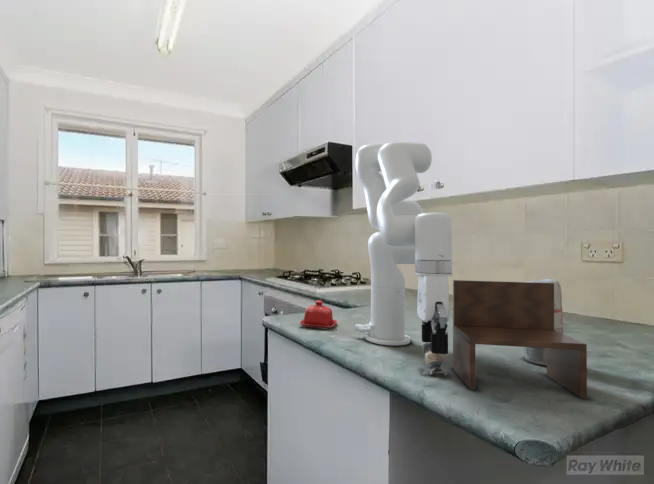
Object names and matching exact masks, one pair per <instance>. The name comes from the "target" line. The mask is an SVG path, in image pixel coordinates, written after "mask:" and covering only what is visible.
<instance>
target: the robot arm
mask: <svg viewBox="0 0 654 484" xmlns="http://www.w3.org/2000/svg"><path fill="white" fill-rule="evenodd" d="M432 156H433V155H432V152H431V149H430V148H429V146H428V145H427V144H425V143H423V142H413V141H412V142H411V141H391V142H387V143H368V144H364V145H362V146H360V147H359V148H358V150H357V151H356V154H355V162H354V163H355V173H356V176H357V179H358V181H359V183H360V185H361V188H362V190H363V193H364V198H365V205H366V212H367V218H368V222H369V225H370V226H371V228H372V229H374V230H375V231H377V230H378V231H377V232H374V233H372V234H371V235H370V236H369V238H368V241H367V251H368V257H369V262H370V263H369V264H370V265H369V266H370V321H369V322H368V323H365V324H359V323H358V324H356V323H355V324H354V331H355V332H359V333H365V334H364V338H365V340H366V341H367V342H369V343H373V344H376V345H381V346H382V345H383V346H393V347H395V346H396V347H397V346H406V345H409V344H410V343H411V341H412V340H411V337H410V336H409V335H407V334H406V278H405V276H404V274H403V273H402V271H401V270H400V268H399V266H398V265H414V275H415V276H418V281H417V300H416V301H417V305H416V315H417V317H418V318H420V320H421V341H422V343H431V352H432V353H435V354H440V355H448V354H449V329H448V322H449V321H450V293H449V279H448V278H449V277H453V261H452V260H453V244H452V243H453V238H452V217H451V215H450V214H448V213H447V212H438V211H437V212H436V211H434V212H432V211H431V212H424V211H423V208H422V206H421V205H420V204H419V203H418V202H417V201H415V200H413V199H408V198H410V197H412V196H413V195H415V194H416V193H417V192H418V190H419V189H420V185H421V183H420V179H419V176H418V174H423V173H426V172H427V171H428V170H429V169H430V168H431V164H432V161H433V160H432V159H433V158H432ZM380 172H381V173H380Z"/></svg>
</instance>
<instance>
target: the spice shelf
mask: <svg viewBox="0 0 654 484" xmlns="http://www.w3.org/2000/svg"><path fill="white" fill-rule="evenodd" d="M452 294H453V295H452V370H454V372H455V373H456V375H457V376H458V377H459V378H460V379H461V381H463V383H464V384H465V385H466V387H468V389H469V390H475V391H476V345H485V346H500V347H501V346H503V347H518V348H519V347H520V348H524V347H534V348H547V365H546V376H547V377H548V378H550V379H551V380H553V381H554V382H556V383H557V384H559V385H560V386H562V387H564V388H565V389H566V390H568V391H570V393H572V394H574V395H575V396H577V397H578V398H581V399H588V355H587V354H588V351H587V349H588V346H587V343H585V342H582V341H581V340H578V339H576V338H574V337H571V336H568V335H566V334H564V333H563V334H562V333H559V332H557V331H555V330H554V283H539V282H528V281H502V280H501V281H499V280H498V281H497V280H471V279H470V280H468V279H467V280H466V279H465V280H464V279H453V280H452Z"/></svg>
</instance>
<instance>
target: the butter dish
mask: <svg viewBox="0 0 654 484" xmlns="http://www.w3.org/2000/svg"><path fill="white" fill-rule="evenodd" d="M323 303H324V302H323V301H322V300H320V299H317V300H315V304H313V305H309V306H308V307H306V309H305V311H304V315H303V316H304V317H303V319H302V320H300V321H299V325H301V326H305V327H306V328H315V329H325V330H327V329H329V328H333V327H334V326H335V325H336V324H337V323H338V320H337V319H334V317H333V310H332V308H330V307H329V306H326V305H323Z"/></svg>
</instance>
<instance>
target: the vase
mask: <svg viewBox="0 0 654 484" xmlns="http://www.w3.org/2000/svg"><path fill="white" fill-rule="evenodd" d="M422 346H423V348H422V354H423V358H424V362H425V363H426V365H427V366H428V368H431V371H430V370H425V371H423V372H422V374H423V376H425V375H430V376H432V375H433V374H434V373H437V374H442V375H444V376H448V375H449V373H448V372H447V371H448V369H446V368H444V369H443V368H442V367H441V366H442V362H443V360H442V356H441V354H435V353H432V352H431V343H429V342H423V344H422Z"/></svg>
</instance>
